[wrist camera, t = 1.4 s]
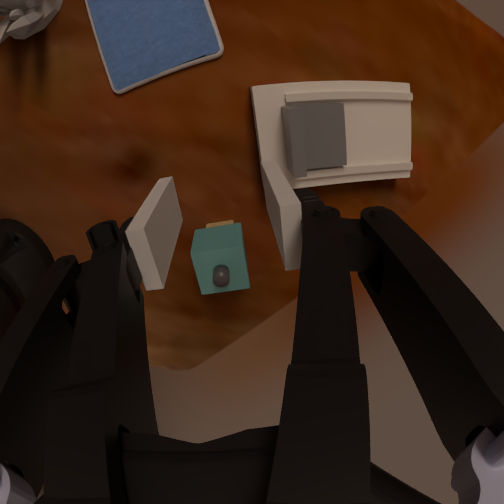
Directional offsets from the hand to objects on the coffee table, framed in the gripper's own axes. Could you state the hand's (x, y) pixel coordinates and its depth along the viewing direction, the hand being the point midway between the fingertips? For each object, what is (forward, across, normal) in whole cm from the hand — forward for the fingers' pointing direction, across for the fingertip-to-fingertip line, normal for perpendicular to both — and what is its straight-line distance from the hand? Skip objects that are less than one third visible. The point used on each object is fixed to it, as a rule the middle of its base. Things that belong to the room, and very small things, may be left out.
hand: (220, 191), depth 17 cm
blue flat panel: (+18, -6, +18) cm, 26 cm away
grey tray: (+17, +12, 0) cm, 21 cm away
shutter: (+14, +9, 0) cm, 16 cm away
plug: (+17, -2, -11) cm, 20 cm away
